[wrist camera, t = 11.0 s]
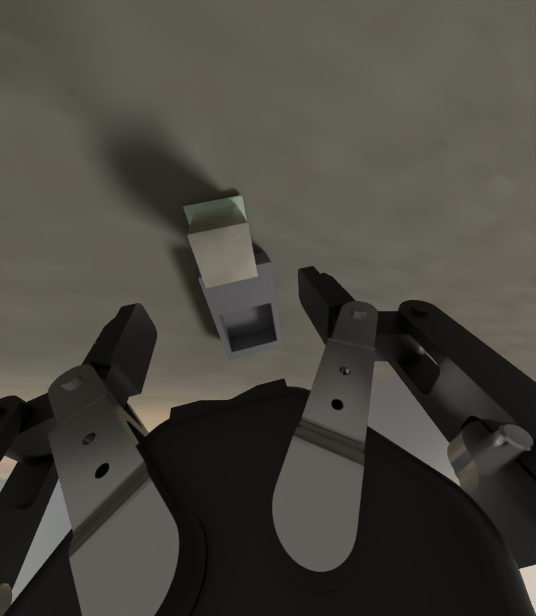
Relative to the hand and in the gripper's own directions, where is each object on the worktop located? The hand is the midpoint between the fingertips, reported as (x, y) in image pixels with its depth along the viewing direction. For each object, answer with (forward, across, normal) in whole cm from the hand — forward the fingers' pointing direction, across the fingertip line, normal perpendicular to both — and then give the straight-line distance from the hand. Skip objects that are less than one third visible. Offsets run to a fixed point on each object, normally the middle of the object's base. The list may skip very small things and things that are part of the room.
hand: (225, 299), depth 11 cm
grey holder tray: (+15, -1, +11) cm, 19 cm away
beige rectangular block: (+15, 0, +1) cm, 15 cm away
